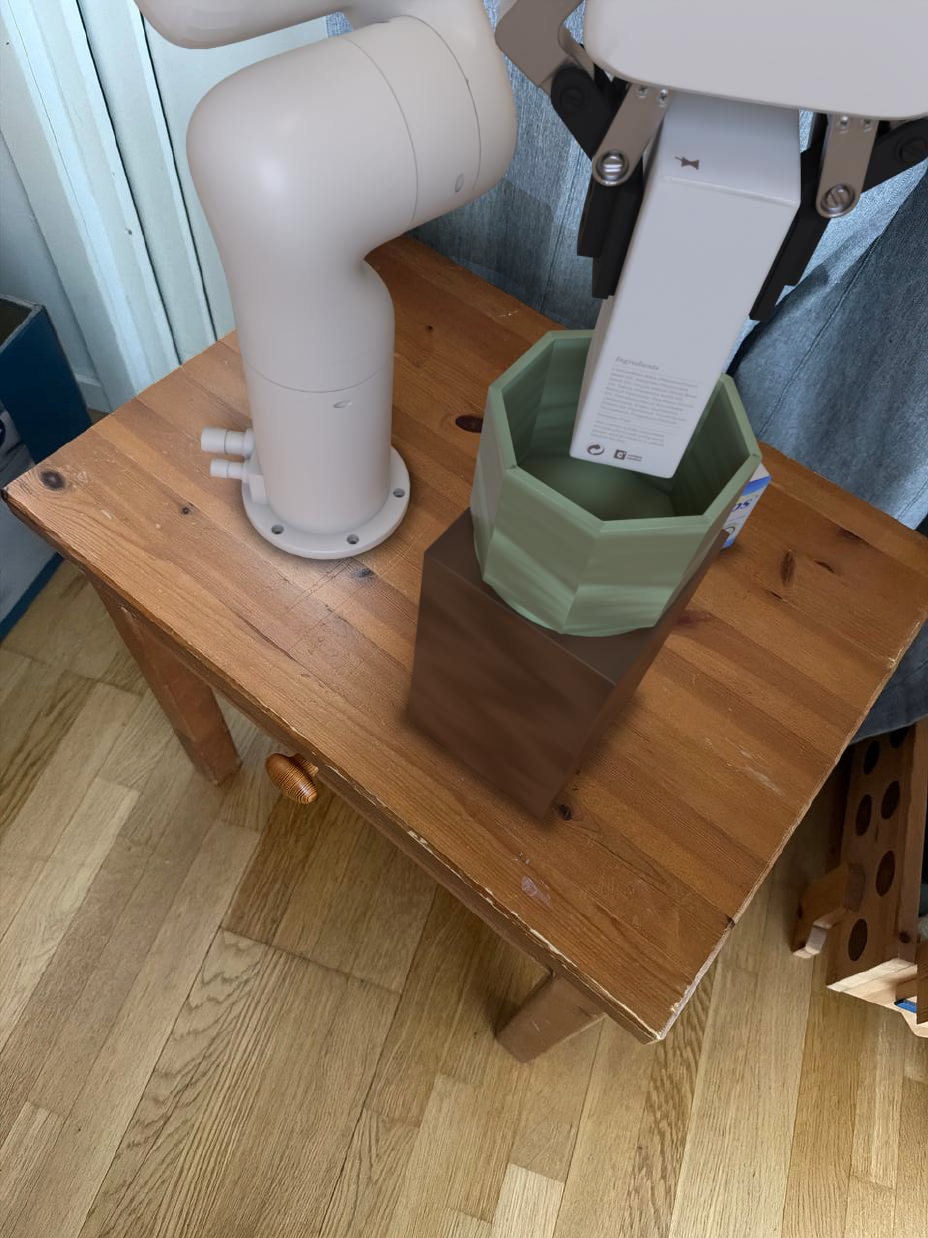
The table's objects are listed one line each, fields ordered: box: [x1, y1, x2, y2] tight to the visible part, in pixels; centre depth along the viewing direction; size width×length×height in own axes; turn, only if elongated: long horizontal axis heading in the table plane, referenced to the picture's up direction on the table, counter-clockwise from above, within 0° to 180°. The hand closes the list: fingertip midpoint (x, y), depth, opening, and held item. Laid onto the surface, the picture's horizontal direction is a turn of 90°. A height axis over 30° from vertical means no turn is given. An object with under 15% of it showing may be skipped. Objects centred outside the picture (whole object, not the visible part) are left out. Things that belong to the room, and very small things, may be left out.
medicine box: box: [722, 462, 772, 549], centre depth 66 cm, size 8×4×9 cm, turn 114°
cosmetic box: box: [570, 91, 801, 478], centre depth 31 cm, size 6×4×12 cm
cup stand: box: [407, 328, 763, 820], centre depth 49 cm, size 11×11×29 cm
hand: (678, 277), depth 30 cm, fingers closed on cosmetic box, 4 cm apart
